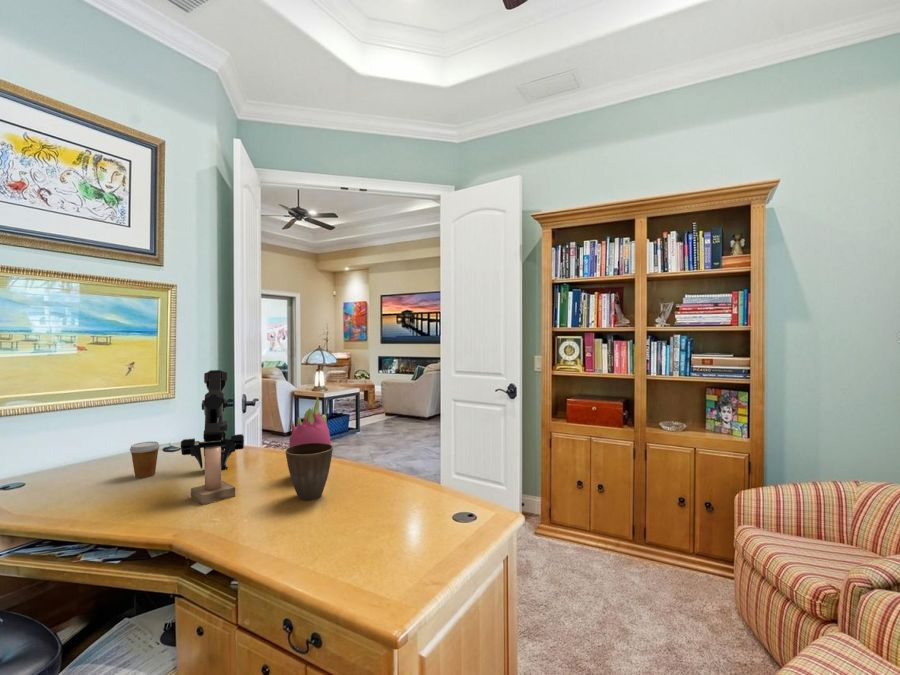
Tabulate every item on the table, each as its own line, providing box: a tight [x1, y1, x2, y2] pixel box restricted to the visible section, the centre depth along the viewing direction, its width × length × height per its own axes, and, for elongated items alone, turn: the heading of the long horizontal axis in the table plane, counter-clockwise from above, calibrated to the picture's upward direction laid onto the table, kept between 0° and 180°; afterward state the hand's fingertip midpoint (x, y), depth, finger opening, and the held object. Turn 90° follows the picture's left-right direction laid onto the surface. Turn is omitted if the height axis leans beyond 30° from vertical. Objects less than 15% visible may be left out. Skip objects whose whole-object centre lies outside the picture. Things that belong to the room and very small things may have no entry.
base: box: [190, 480, 236, 506], centre depth 148 cm, size 10×10×3 cm
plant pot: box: [285, 443, 334, 501], centre depth 148 cm, size 15×15×16 cm
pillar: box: [203, 446, 222, 490], centre depth 148 cm, size 5×5×13 cm
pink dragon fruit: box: [288, 396, 332, 448], centre depth 169 cm, size 18×14×30 cm
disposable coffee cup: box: [129, 441, 161, 479], centre depth 170 cm, size 10×10×12 cm
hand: (212, 466), depth 147 cm, fingers open, 6 cm apart
